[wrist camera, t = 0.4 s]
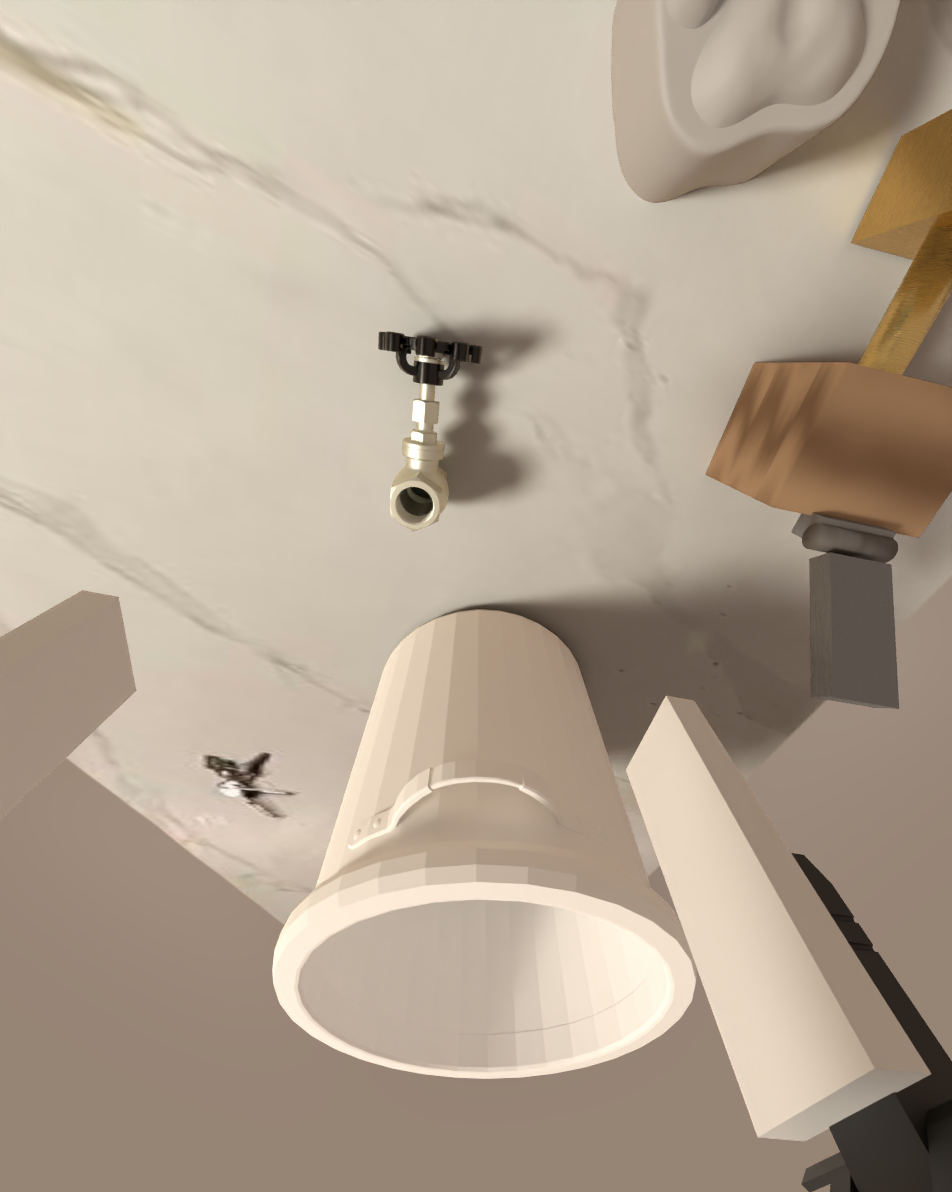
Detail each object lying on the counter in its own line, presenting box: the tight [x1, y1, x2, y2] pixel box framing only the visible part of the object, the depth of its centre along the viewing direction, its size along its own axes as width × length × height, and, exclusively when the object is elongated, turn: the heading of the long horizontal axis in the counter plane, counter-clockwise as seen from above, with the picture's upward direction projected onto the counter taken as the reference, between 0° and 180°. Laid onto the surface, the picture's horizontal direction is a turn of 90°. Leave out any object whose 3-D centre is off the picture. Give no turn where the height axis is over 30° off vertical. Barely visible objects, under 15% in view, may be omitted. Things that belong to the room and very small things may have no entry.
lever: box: [809, 552, 899, 709], centre depth 26 cm, size 8×4×1 cm
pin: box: [851, 109, 952, 375], centre depth 26 cm, size 19×5×9 cm, turn 169°
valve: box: [378, 332, 482, 531], centre depth 31 cm, size 7×7×12 cm
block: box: [706, 362, 952, 563], centre depth 29 cm, size 10×10×11 cm
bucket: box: [272, 609, 697, 1079], centre depth 34 cm, size 26×22×25 cm
